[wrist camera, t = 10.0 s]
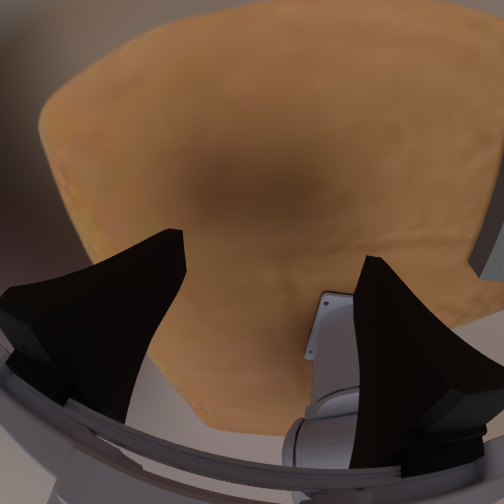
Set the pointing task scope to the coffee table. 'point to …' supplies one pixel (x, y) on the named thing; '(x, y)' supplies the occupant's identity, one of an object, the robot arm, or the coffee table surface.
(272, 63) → the coffee table surface
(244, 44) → the coffee table surface
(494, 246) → the charcoal flat pad
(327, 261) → the coffee table surface
